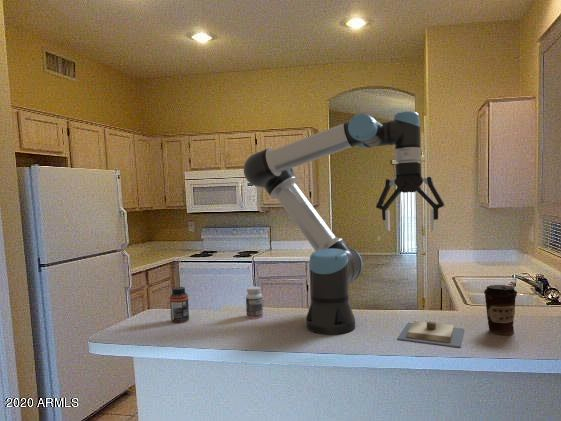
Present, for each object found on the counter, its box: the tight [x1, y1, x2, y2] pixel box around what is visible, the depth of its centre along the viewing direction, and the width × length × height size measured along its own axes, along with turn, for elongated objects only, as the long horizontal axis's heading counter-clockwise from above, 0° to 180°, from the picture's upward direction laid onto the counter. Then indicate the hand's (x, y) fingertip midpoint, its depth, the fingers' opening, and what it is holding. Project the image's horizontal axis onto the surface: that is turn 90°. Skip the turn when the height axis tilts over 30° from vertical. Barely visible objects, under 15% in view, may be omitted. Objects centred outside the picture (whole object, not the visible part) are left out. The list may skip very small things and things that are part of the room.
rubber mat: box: [396, 322, 465, 349], centre depth 114 cm, size 16×16×1 cm
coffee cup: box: [483, 284, 518, 336], centre depth 114 cm, size 9×8×13 cm
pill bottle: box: [245, 286, 264, 319], centre depth 138 cm, size 6×6×10 cm
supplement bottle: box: [169, 286, 190, 324], centre depth 135 cm, size 6×6×11 cm
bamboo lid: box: [408, 320, 455, 342], centre depth 114 cm, size 11×11×3 cm
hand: (409, 230), depth 125 cm, fingers open, 13 cm apart
